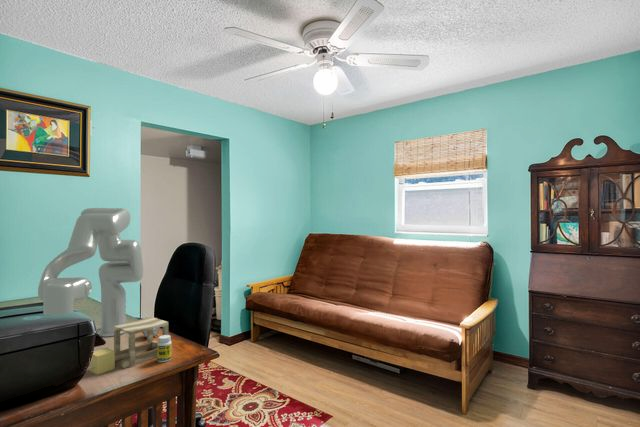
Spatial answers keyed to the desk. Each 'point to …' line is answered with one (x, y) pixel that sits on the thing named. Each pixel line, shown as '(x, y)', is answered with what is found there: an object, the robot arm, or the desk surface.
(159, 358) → the supplement bottle
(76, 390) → the desk surface
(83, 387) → the desk surface
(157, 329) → the game die
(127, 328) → the birch shelf
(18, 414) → the desk surface
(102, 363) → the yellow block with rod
